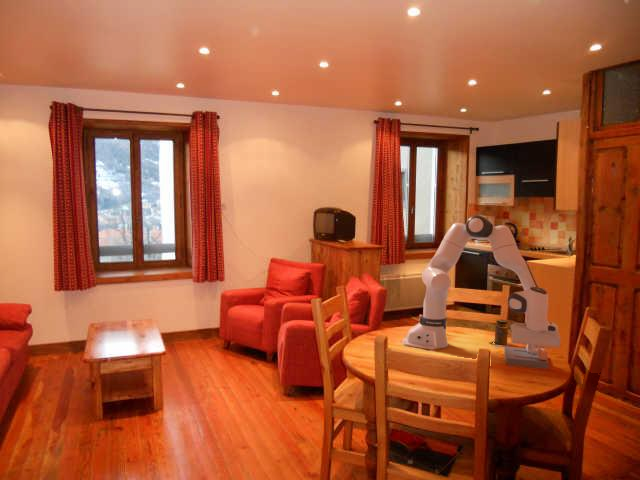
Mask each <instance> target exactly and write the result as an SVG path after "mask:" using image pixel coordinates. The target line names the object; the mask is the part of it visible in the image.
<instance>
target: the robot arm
mask: <svg viewBox="0 0 640 480" xmlns="http://www.w3.org/2000/svg"><path fill="white" fill-rule="evenodd" d="M470 240H471V241H475V242H476V241H477V242H486V241H488V242H489V245H490V246H491V250H492V254H493V257H494V259H495V262H496V263H497V264H498V265H499V266H501V267H502V268H505V269H508V270H510V271H513V272H514V273H515V274H516V275H517V276H518V278H519V280H520V283H521V285H522V289H523V290H522V291H521V290H520V291H516V292H513V293H512V292H511V293H509V296H508V298H507V306H508V309H509V310H510V311H511V312H513V313H515V314H525V322H513V323H511V325H510V331H511V334H510V342H511V343H512V344H519V345H526V346H527V345H528V346H529V348H530V350H531V355H538V352H539V351H540V349H542V347H547V348H548V347H549V348H558V349H559V348H560V346H561V344H562V343H561V335H560V333H559V326H558V324H556V323H555V322H552V321H549V320H548V311H549V294H548V292H547V290H546V289H544V288H541V287H539V286H538V284H537V282H536V280H535V277H534V276H533V275H534V274H533V273H532V270H531V267H530V266H529V264H528V263H527V261H526V260H525V259H524V257H523V256H522V254H521V252H520V250H519V248H518V245H517V242H516V240H515V237H514V235H513V233H512V231H511V229H510V227H508V226H507V225H493V223H491V221H490V220H489V219H488V218H486V217H485V216H482V215H478V214H477V215H476V214H475V215H473V216H470V217H469V218H468V219H467V220H466V223H465V224H464V223H462V222H454V223H453V224H452V225H451V226H450V227H449V228H448V230H447V232H446V233H445V234H444V237H443V239H442V240H441V242H440V245H439V246H438V247H437V251H436V252H435V254H434V256H433V257H432V258H431V260H429V262H428V264H427V265H426V266H425V268H424V269H423V270H422V272H421V281H422V282H423V284H424V285H425V286H426V289H425V290H426V291H425V295H424V299H423V311H422V313H423V314H419V316H418V323H416V324H415V325H414V326H412V327H411V328H410V329H409V330H408V332H407V336H405V337H404V338H403V339H402V344H403V345H404V346H405V347H412V348H414V347H415V348H419V349H425V350H431V351H434V350H438V349H444V348H447V347H448V346H449V343H448V339H447V338H448V337H447V332H446V331H447V325H448V324H447V316H446V315H447V314H446V313H447V299H448V295H449V290H450V287H451V283H452V281H451V278H450V276H449V274H448V273H449V272H450V271H451V270H452V268H453V267H454V266H455V265H456V264H457V262H458V261H459V259H460V257H461V255H462V253H463V252H464V249H465V247H466V246H467V243H468V242H469V241H470ZM532 345H535V347H536V346H537V348H536V349H537V350H532V348H531V347H532Z"/></svg>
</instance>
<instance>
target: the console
mask: <svg viewBox="0 0 640 480" xmlns="http://www.w3.org/2000/svg"><path fill="white" fill-rule="evenodd" d="M537 349H538V348H535V350H537ZM503 352H504V358H505V364H506V363H507V364H506V366H512V367H513V366H514V367H515V366H516V367H526V368H533V369H534V368H535V369H545V370H548V369H549V360H548V359H547V360H541V359H539V356H538V355H531V352H527V349H526V347H515V346H514V347H513V346H507V345H506V346H504V351H503Z"/></svg>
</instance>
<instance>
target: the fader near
mask: <svg viewBox="0 0 640 480" xmlns="http://www.w3.org/2000/svg"><path fill="white" fill-rule="evenodd" d="M538 356H539V359H541V360H548V351H547V348H541V349H540V351H539V352H538Z"/></svg>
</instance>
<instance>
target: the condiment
mask: <svg viewBox="0 0 640 480" xmlns="http://www.w3.org/2000/svg"><path fill="white" fill-rule="evenodd" d="M508 330H509V326H508V321H507V320H505V319H497V320H496V323H495V327H494V341H490V342H488V344H490V343H493V342H494V343H495V344H494V345H493V346H496V347H499V348H501V347H505V346H506V347H507V346H509V345H511V343H509V342H508Z"/></svg>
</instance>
